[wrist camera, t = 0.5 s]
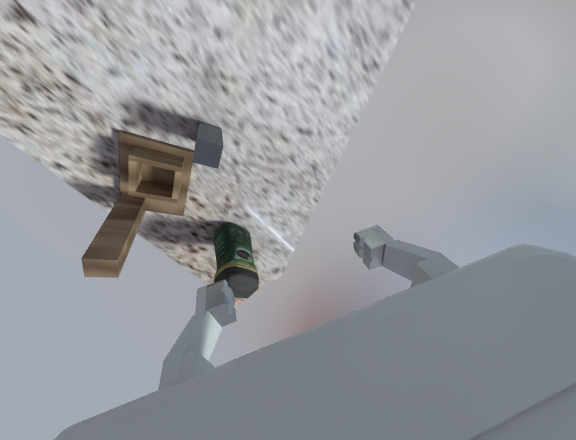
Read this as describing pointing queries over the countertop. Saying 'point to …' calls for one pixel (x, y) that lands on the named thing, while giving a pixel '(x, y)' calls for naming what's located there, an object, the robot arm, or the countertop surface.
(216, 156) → the dark grey square peg
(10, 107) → the countertop surface
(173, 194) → the wooden peg slot stand
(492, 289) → the robot arm
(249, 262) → the coffee jar
